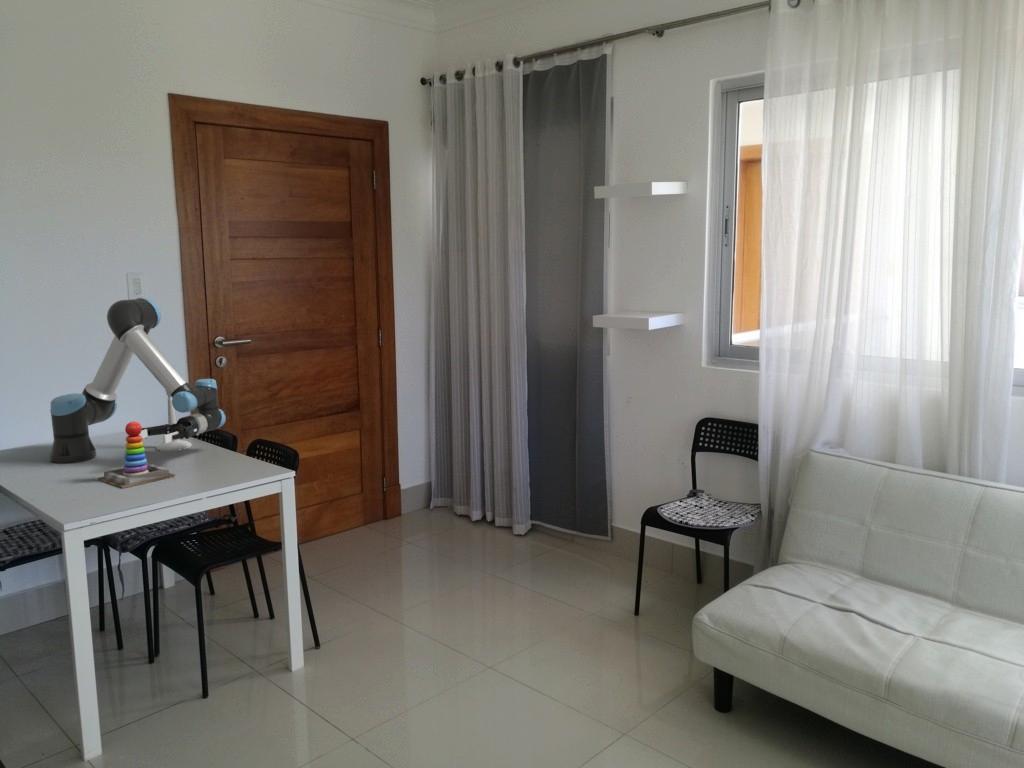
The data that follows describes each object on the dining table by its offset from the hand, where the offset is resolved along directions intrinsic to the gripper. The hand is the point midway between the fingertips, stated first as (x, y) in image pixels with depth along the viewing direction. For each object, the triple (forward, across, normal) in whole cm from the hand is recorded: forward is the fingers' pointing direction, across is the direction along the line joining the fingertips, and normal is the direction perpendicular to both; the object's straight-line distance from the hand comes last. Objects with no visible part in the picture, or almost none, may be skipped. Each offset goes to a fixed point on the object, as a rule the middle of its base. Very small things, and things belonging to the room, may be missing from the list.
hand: (148, 438), depth 286 cm
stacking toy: (+7, 0, -12) cm, 14 cm away
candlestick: (-34, +20, -13) cm, 41 cm away
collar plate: (+7, 0, -12) cm, 14 cm away
